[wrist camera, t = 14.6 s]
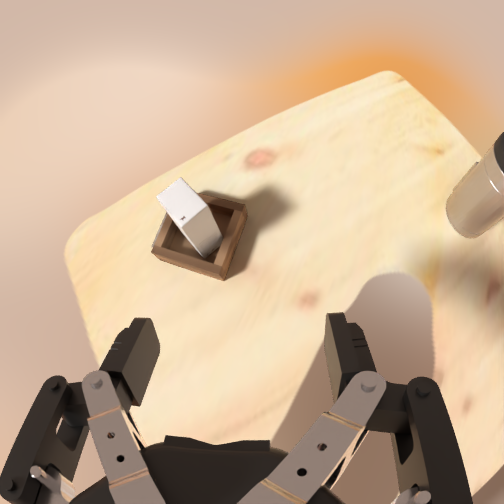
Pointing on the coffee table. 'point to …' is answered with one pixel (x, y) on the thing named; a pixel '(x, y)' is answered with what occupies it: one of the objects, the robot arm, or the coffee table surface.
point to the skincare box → (191, 217)
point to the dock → (182, 251)
